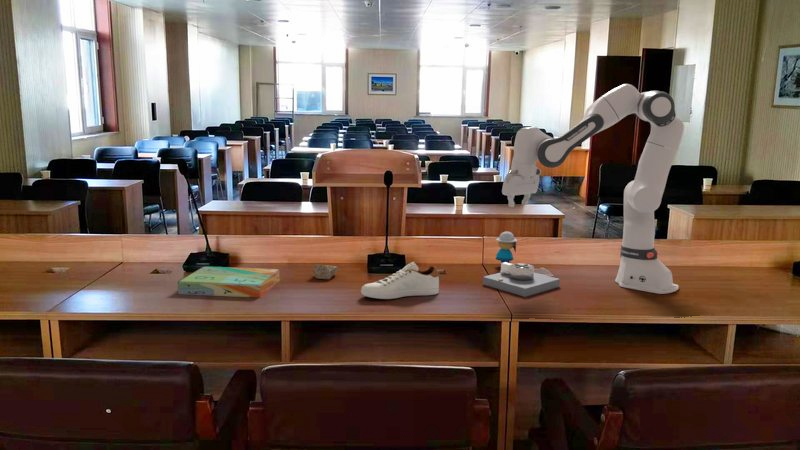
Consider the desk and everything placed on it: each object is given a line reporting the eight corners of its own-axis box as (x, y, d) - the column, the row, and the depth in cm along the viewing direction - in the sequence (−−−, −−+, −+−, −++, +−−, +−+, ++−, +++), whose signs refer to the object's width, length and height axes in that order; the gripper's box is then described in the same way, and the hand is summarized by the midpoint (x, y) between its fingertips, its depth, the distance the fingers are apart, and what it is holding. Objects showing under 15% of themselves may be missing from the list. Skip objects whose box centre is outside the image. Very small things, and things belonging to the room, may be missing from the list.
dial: (538, 277, 234) (539, 265, 233) (523, 281, 228) (523, 269, 227) (510, 270, 244) (511, 259, 243) (495, 273, 238) (495, 262, 238)
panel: (559, 286, 234) (559, 277, 233) (525, 296, 221) (525, 287, 221) (517, 275, 249) (517, 266, 248) (482, 284, 236) (483, 275, 236)
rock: (337, 273, 240) (324, 257, 239) (321, 287, 241) (307, 271, 240) (341, 267, 250) (328, 252, 249) (325, 280, 251) (312, 265, 250)
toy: (517, 269, 258) (519, 233, 255) (496, 269, 258) (497, 233, 255) (514, 264, 266) (516, 229, 264) (493, 264, 267) (495, 229, 264)
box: (203, 266, 242) (279, 268, 239) (204, 278, 243) (279, 281, 240) (177, 281, 221) (259, 284, 218) (178, 295, 222) (260, 299, 219)
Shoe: (356, 295, 222) (356, 262, 220) (430, 287, 233) (431, 255, 230) (365, 303, 213) (365, 269, 211) (442, 295, 223) (443, 262, 221)
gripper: (515, 172, 227) (510, 209, 230) (543, 170, 242) (538, 205, 245) (500, 169, 231) (495, 206, 234) (529, 167, 246) (524, 202, 249)
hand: (517, 205), depth 239 cm, fingers open, 8 cm apart
